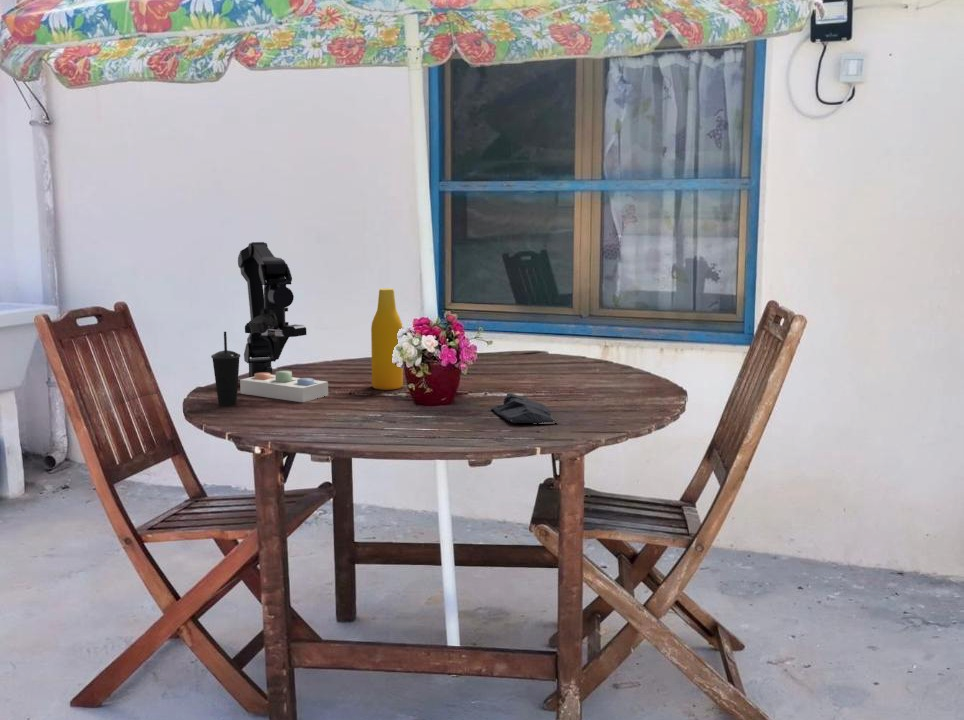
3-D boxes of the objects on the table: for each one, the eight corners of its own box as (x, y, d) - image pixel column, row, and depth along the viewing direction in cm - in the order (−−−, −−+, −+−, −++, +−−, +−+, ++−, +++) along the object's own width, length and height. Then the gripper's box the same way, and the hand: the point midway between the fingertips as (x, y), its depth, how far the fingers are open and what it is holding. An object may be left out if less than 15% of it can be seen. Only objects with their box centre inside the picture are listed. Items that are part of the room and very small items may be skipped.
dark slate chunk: (502, 428, 267) (502, 409, 267) (489, 409, 289) (489, 392, 288) (562, 427, 270) (562, 408, 269) (545, 408, 291) (545, 391, 290)
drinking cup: (216, 401, 294) (214, 329, 291) (244, 401, 295) (242, 329, 291) (210, 407, 287) (207, 333, 284) (238, 407, 287) (236, 333, 284)
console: (240, 393, 306) (240, 379, 305) (266, 387, 315) (266, 373, 315) (302, 402, 294) (302, 388, 294) (328, 395, 304) (328, 381, 303)
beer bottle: (365, 386, 317) (364, 288, 312) (390, 382, 323) (389, 287, 318) (384, 391, 310) (383, 291, 306) (409, 387, 316) (408, 289, 312)
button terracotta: (251, 391, 308) (250, 374, 307) (262, 388, 312) (261, 371, 311) (263, 393, 306) (263, 375, 305) (274, 390, 310) (274, 373, 309)
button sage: (272, 389, 304) (272, 372, 303) (283, 387, 308) (282, 370, 307) (284, 391, 301) (284, 374, 301) (295, 388, 305) (295, 371, 304)
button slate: (294, 397, 300) (293, 379, 299) (305, 394, 304) (304, 377, 303) (307, 399, 298) (306, 381, 297) (317, 396, 301) (317, 379, 301)
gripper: (229, 305, 300) (231, 360, 302) (279, 308, 290) (281, 365, 292) (257, 302, 309) (259, 355, 311) (307, 305, 299) (308, 360, 301)
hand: (276, 359), depth 304 cm, fingers closed
